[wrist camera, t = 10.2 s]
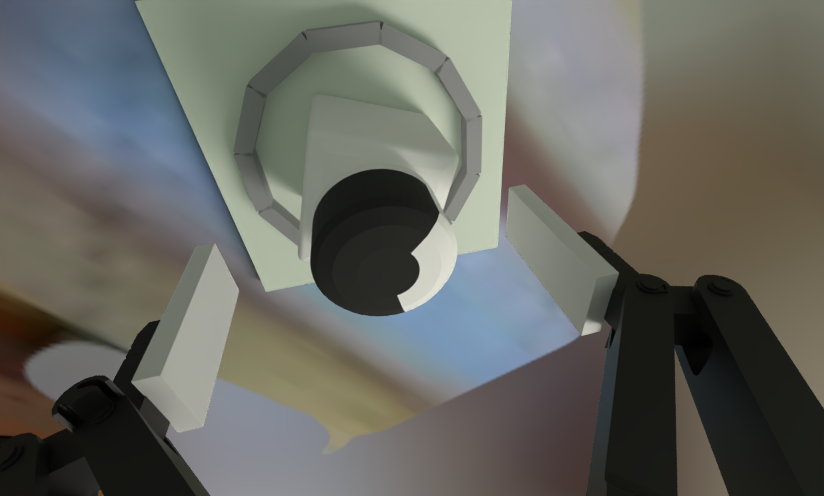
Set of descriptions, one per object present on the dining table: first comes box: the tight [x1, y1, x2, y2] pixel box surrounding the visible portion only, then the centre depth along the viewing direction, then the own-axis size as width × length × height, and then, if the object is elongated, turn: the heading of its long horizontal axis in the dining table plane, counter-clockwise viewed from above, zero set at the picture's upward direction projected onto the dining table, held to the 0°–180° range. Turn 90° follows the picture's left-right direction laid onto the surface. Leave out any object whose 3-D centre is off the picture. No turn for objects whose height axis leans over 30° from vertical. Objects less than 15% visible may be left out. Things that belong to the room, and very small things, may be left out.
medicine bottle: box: [298, 93, 459, 316], centre depth 19 cm, size 7×7×12 cm
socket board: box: [135, 0, 512, 292], centre depth 24 cm, size 19×19×2 cm
